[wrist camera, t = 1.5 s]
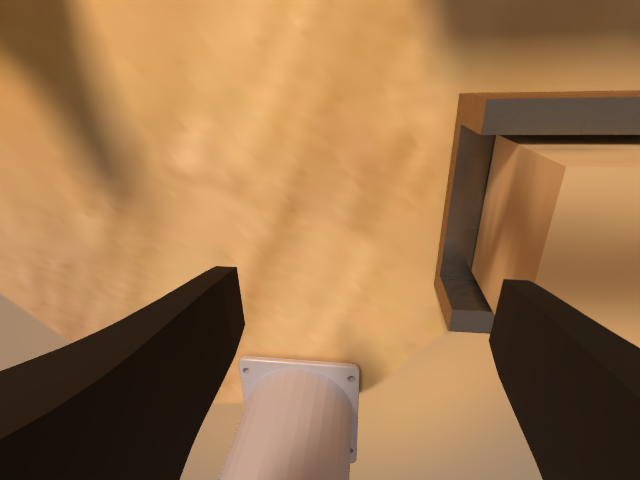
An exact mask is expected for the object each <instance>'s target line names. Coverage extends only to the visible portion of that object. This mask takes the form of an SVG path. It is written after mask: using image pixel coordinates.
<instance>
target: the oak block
mask: <svg viewBox="0 0 640 480" xmlns="http://www.w3.org/2000/svg"><path fill="white" fill-rule="evenodd" d="M471 271H472V273H473V275H474V277H475V279H476V281H477V283H478V285H479V287H480V289H481V290H482V292H483V294H484V296H485V298H486V300H487V302H488V304H489V306H490V307H491V309H492V311H493V313H494V315H495V312H496V308H497V304H498V300H499V296H500V291H501V287H502V283H503V279H513V280H529V281H531V282H533V283H535V284H537V285H538V286H540V287H542V288H544V289H545V290H547V291H549V292H550V293H552V294H553V295H555V296H557V297H558V298H560V299H561V300H563V301H564V302H566V303H568V304H569V305H571V306H572V307H574V308H575V309H577V310H579V311H580V312H582V313H583V314H585V315H586V316H588V317H590V318H591V319H593V320H594V321H596V322H598V323H599V324H601V325H602V326H604V327H606V328H607V329H609V330H610V331H612V332H614V333H615V334H617V335H619V336H620V337H622V338H624V339H625V340H627V341H629V342H630V343H632V344H634V345H636V346H637V347H639V348H640V135H496V139H495V144H494V150H493V155H492V161H491V166H490V172H489V177H488V183H487V188H486V194H485V199H484V205H483V210H482V215H481V221H480V226H479V232H478V237H477V243H476V248H475V254H474V259H473V265H472V270H471Z"/></svg>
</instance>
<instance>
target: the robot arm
mask: <svg viewBox="0 0 640 480" xmlns="http://www.w3.org/2000/svg"><path fill="white" fill-rule="evenodd" d="M244 326H245V321H244V314H243V307H242V300H241V294H240V287H239V280H238V273H237V267H221V266H216V267H214V268H212V269H210V270H208V271H206V272H204V273H202V274H201V275H199V276H197V277H195V278H194V279H192V280H190V281H189V282H187V283H185V284H184V285H182V286H180V287H179V288H177V289H175V290H173V291H172V292H170V293H168V294H167V295H165V296H163V297H162V298H160V299H158V300H157V301H155V302H153V303H151V304H149V305H148V306H146V307H144V308H142V309H140V310H138V311H137V312H135V313H133V314H131V315H129V316H127V317H126V318H124V319H122V320H120V321H118V322H116V323H114V324H112V325H110V326H108V327H106V328H104V329H102V330H100V331H98V332H96V333H94V334H91V335H89V336H87V337H85V338H83V339H80V340H78V341H76V342H74V343H71V344H69V345H67V346H64V347H62V348H60V349H57V350H54V351H52V352H49V353H47V354H44V355H42V356H39V357H37V358H34V359H31V360H29V361H26V362H24V363H21V364H19V365H16V366H13V367H11V368H8V369H5V370H2V371H0V480H180V477H181V474H182V472H183V469H184V466H185V463H186V461H187V458H188V455H189V453H190V450H191V447H192V445H193V443H194V440H195V438H196V436H197V434H198V431H199V429H200V427H201V425H202V423H203V420H204V419H205V416H206V414H207V412H208V411H209V408H210V406H211V404H212V402H213V400H214V398H215V396H216V394H217V392H218V390H219V388H220V386H221V384H222V382H223V380H224V378H225V376H226V374H227V371H228V369H229V367H230V365H231V363H232V361H233V359H234V357H235V354H236V351H237V348H238V345H239V342H240V339H241V336H242V333H243V330H244ZM489 343H490V347H491V351H492V354H493V358H494V362H495V365H496V368H497V372H498V375H499V378H500V380H501V383H502V385H503V387H504V390H505V392H506V394H507V397H508V399H509V401H510V404H511V406H512V408H513V411H514V413H515V415H516V418H517V420H518V422H519V424H520V427H521V429H522V431H523V433H524V436H525V438H526V440H527V443H528V445H529V447H530V450H531V452H532V454H533V456H534V459H535V461H536V463H537V466H538V468H539V471H540V473H541V476H542V479H543V480H640V348H639V347H637V346H636V345H634V344H632V343H630V342H629V341H627V340H625V339H624V338H622V337H620V336H619V335H617V334H615V333H614V332H612V331H610V330H609V329H607V328H606V327H604V326H602V325H601V324H599V323H598V322H596V321H594V320H593V319H591V318H590V317H588V316H586V315H585V314H583V313H582V312H580V311H579V310H577V309H575V308H574V307H572V306H571V305H569V304H568V303H566V302H564V301H563V300H561V299H560V298H558V297H557V296H555V295H553V294H552V293H550V292H549V291H547V290H545V289H544V288H542V287H540V286H538V285H537V284H535V283H533V282H531V281H529V280H513V279H503V283H502V287H501V291H500V296H499V300H498V304H497V308H496V312H495V317H494V321H493V325H492V329H491V333H490V338H489ZM246 368H248V369H246ZM239 369H240V376H241V383H242V389H243V396H244V402H245V408H244V411H243V413H242V416H241V419H240V422H239V424H238V427H237V430H236V433H235V435H234V438H233V441H232V444H231V446H230V449H229V452H228V454H227V457H226V460H225V463H224V465H223V468H222V471H221V473H220V476H219V479H218V480H349V469H350V463H353V462H355V461H356V455H357V426H358V399H359V398H358V397H359V367H358V366H357V365H356V364H352V363H340V362H326V361H312V360H299V359H285V358H271V357H257V356H243V357H241V359H240V361H239ZM349 376H353V377H349Z"/></svg>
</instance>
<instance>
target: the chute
mask: <svg viewBox="0 0 640 480" xmlns="http://www.w3.org/2000/svg"><path fill="white" fill-rule="evenodd" d="M496 135H640V91H586V92H520V93H460V95H459V102H458V110H457V117H456V125H455V132H454V140H453V147H452V155H451V162H450V169H449V177H448V184H447V192H446V199H445V207H444V214H443V221H442V229H441V236H440V244H439V251H438V259H437V266H436V274H435V281H434V287H435V290H436V293H437V296H438V299H439V302H440V306H441V309H442V312H443V315H444V318H445V321H446V325H447V328H448V331H455V332H472V333H489V334H490V333H491V329H492V325H493V321H494V317H495V315H494V313H493V311H492V309H491V307H490V306H489V304H488V302H487V300H486V298H485V296H484V294H483V292H482V290H481V289H480V287H479V285H478V283H477V281H476V279H475V277H474V275H473V273H472V271H471V270H472V265H473V259H474V254H475V248H476V243H477V237H478V232H479V226H480V221H481V215H482V210H483V205H484V199H485V194H486V188H487V183H488V177H489V172H490V166H491V161H492V155H493V150H494V144H495V139H496Z"/></svg>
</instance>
